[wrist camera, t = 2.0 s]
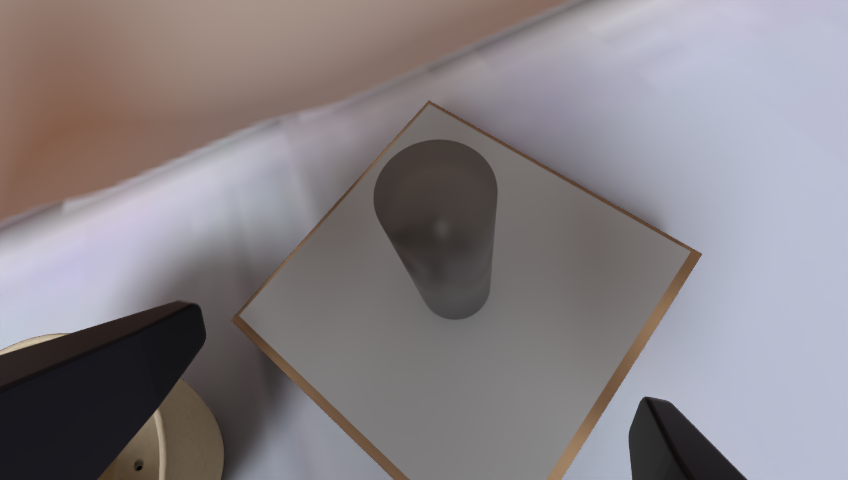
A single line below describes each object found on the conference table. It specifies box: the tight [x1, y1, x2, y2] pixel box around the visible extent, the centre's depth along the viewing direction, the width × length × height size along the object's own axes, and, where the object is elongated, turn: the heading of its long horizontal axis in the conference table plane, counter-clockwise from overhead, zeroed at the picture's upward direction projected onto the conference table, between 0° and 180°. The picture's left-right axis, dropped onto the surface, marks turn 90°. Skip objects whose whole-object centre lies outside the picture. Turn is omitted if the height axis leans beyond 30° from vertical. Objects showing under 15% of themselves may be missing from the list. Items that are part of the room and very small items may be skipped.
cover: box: [239, 104, 691, 480], centre depth 13 cm, size 13×13×9 cm
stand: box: [231, 101, 702, 480], centre depth 19 cm, size 14×14×3 cm
